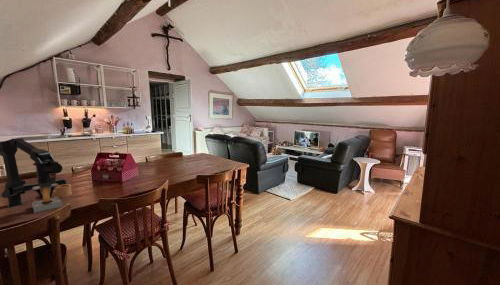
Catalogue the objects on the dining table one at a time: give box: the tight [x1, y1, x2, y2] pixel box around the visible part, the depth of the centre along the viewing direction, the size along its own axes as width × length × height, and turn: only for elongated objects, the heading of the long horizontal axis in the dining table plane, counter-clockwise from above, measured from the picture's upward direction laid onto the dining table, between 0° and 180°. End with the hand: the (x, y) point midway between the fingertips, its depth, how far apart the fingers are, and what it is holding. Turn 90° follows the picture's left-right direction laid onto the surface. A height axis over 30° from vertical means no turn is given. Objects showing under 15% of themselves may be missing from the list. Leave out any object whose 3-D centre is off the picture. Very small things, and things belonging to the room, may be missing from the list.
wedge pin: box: [40, 187, 51, 202], centre depth 131 cm, size 4×4×8 cm
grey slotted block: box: [32, 197, 63, 214], centre depth 132 cm, size 12×12×4 cm
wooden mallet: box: [49, 183, 73, 199], centre depth 151 cm, size 18×8×7 cm, turn 93°
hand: (46, 198), depth 132 cm, fingers closed on wedge pin, 3 cm apart
